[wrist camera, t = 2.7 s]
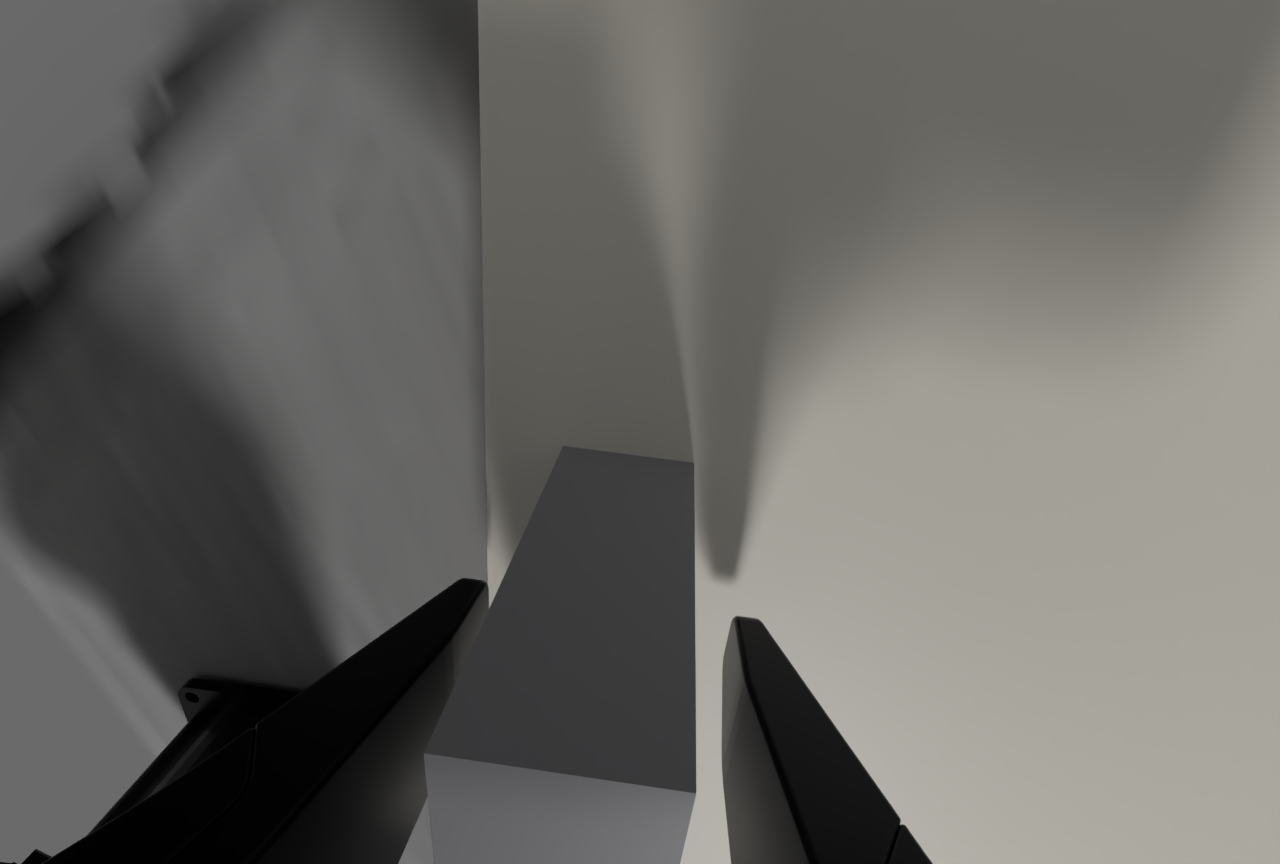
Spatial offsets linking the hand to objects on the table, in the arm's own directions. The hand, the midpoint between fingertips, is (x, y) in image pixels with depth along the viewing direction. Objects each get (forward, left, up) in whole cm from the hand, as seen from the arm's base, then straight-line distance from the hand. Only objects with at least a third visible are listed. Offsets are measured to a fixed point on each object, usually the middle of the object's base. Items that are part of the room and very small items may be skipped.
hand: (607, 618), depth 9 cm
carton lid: (+6, 0, -1) cm, 6 cm away
